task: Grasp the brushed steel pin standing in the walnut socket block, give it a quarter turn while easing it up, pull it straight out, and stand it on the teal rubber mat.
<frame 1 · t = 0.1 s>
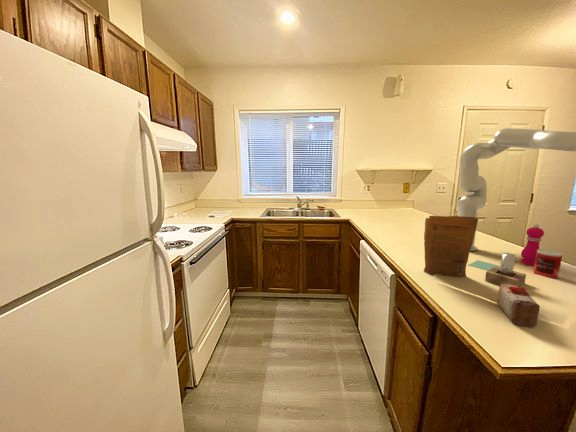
steel pin: (504, 282, 102), point 1 cm above the counter, touching socket block
socket block: (504, 284, 102), on the counter
mat: (485, 268, 118), on the counter
pancake mix bag: (444, 276, 112), on the counter
canned food: (544, 276, 109), on the counter
pepper mill: (529, 264, 122), on the counter
food item: (515, 315, 82), on the counter
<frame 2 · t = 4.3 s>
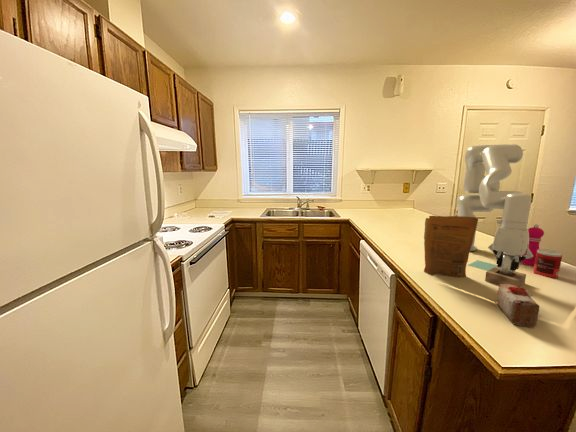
hand: (506, 267, 101), 7 cm above the counter, tool pointing down, fingers closed on steel pin, 4 cm apart
steel pin: (504, 282, 102), point 1 cm above the counter, touching gripper, socket block
everything else where it was.
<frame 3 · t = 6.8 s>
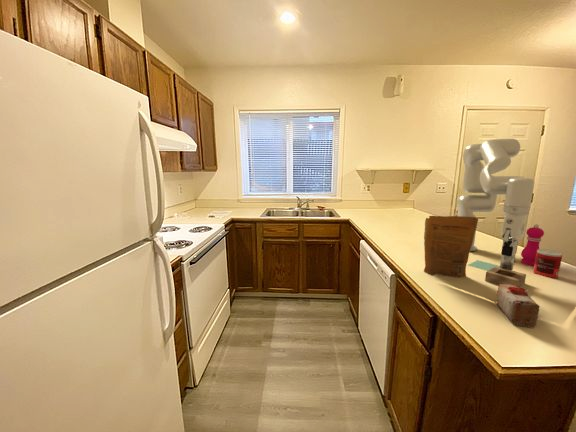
hand: (508, 253, 100), 13 cm above the counter, tool pointing down, fingers closed on steel pin, 4 cm apart
steel pin: (506, 268, 101), point 7 cm above the counter, touching gripper
everything else where it was.
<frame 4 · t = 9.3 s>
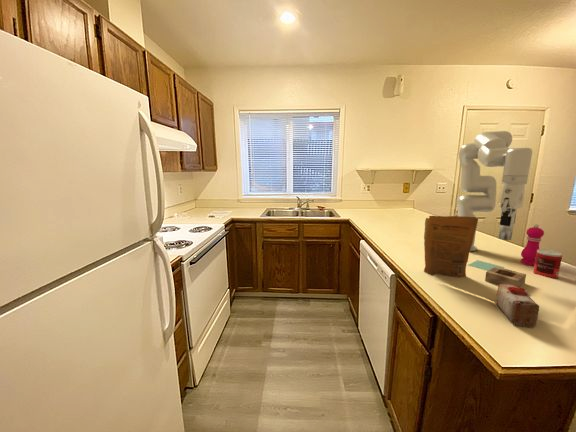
hand: (507, 224, 102), 25 cm above the counter, tool pointing down, fingers closed on steel pin, 4 cm apart
steel pin: (504, 238, 103), point 18 cm above the counter, touching gripper
everything else where it was.
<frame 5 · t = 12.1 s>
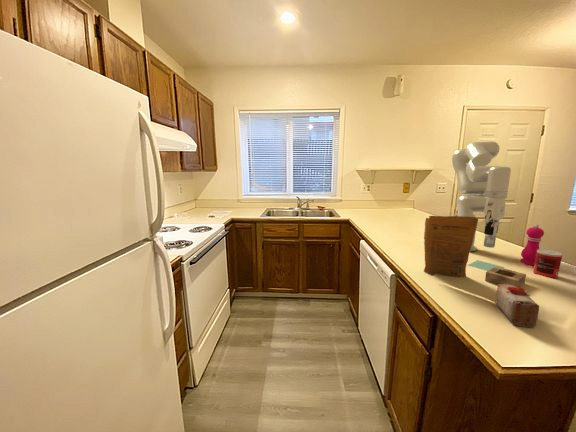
hand: (490, 233, 115), 17 cm above the counter, tool pointing down, fingers closed on steel pin, 4 cm apart
steel pin: (488, 246, 116), point 11 cm above the counter, touching gripper
everything else where it was.
when the fingers open (8 cm above the counter, at t = 14.5 s): steel pin stays where it is, resting on mat.
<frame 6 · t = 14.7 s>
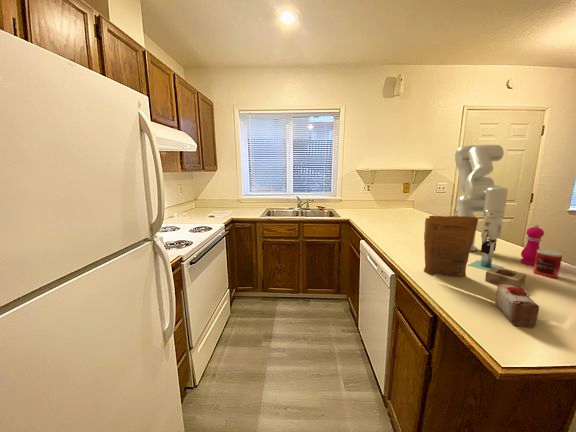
hand: (488, 251, 117), 9 cm above the counter, tool pointing down, fingers open, 5 cm apart
steel pin: (485, 266, 118), point 1 cm above the counter, touching mat
everything else where it was.
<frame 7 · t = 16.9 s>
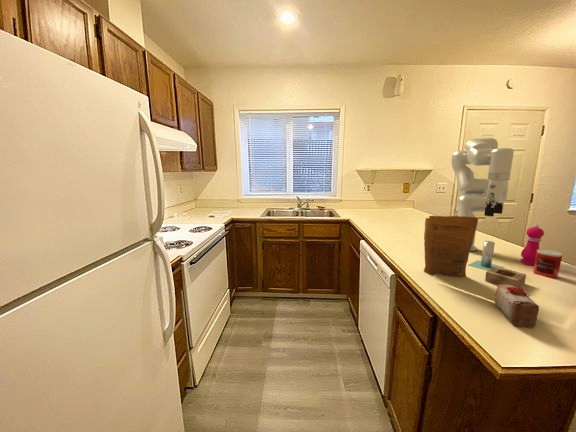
hand: (493, 214, 113), 26 cm above the counter, tool pointing down, fingers open, 9 cm apart
nothing on the counter moved.
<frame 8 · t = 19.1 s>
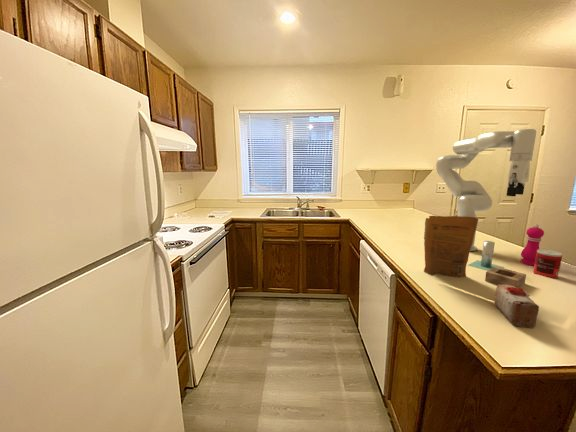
hand: (514, 195, 116), 34 cm above the counter, tool pointing down, fingers open, 9 cm apart
nothing on the counter moved.
at the end: steel pin inside the target area on the mat (0.1 cm from its centre), point 1.0 cm above the mat's base; steel pin tilted 0°; the gripper is holding nothing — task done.
